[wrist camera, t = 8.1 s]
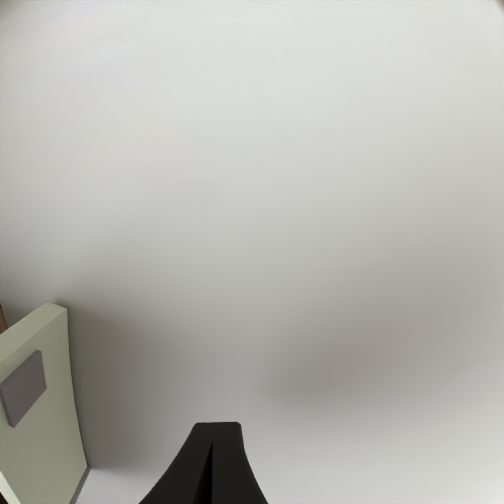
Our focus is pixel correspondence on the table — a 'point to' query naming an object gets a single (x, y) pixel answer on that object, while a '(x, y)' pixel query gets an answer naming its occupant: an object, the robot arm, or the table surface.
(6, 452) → the door
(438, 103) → the table surface
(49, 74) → the table surface
